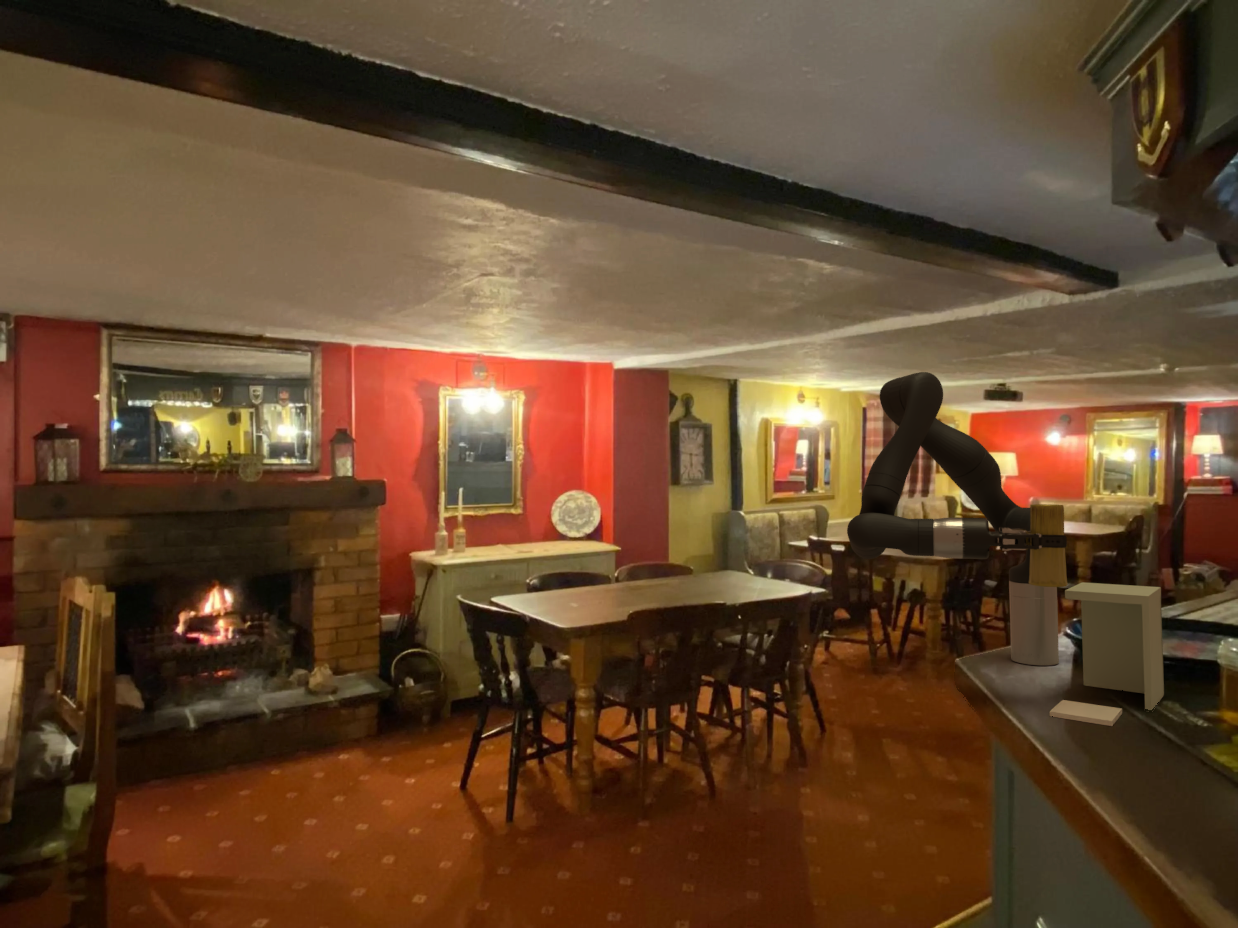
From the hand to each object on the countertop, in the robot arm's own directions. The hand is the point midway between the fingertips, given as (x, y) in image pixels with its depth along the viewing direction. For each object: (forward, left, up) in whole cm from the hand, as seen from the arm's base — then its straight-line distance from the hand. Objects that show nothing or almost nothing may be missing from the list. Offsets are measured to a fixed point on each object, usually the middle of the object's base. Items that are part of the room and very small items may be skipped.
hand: (1063, 540), depth 143 cm
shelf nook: (-10, +6, -29) cm, 31 cm away
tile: (+6, +4, -29) cm, 30 cm away
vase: (+1, -2, -8) cm, 9 cm away
